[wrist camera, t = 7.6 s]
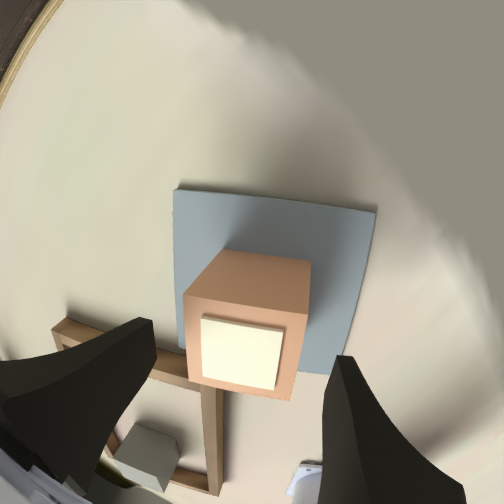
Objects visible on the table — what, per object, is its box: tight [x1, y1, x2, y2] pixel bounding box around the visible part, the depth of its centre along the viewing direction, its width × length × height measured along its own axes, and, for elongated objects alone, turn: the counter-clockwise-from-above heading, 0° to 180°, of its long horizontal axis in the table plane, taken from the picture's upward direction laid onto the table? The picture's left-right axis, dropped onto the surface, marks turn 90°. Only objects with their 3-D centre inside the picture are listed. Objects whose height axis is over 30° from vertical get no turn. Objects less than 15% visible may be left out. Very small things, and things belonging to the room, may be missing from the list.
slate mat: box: [173, 189, 376, 375], centre depth 16 cm, size 10×10×1 cm
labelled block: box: [183, 249, 311, 401], centre depth 13 cm, size 4×4×5 cm
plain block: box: [113, 423, 180, 493], centre depth 22 cm, size 4×4×5 cm
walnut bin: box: [51, 318, 224, 497], centre depth 22 cm, size 14×20×2 cm
